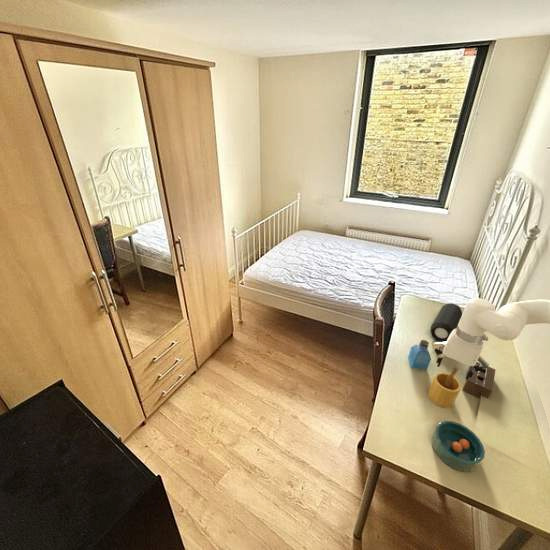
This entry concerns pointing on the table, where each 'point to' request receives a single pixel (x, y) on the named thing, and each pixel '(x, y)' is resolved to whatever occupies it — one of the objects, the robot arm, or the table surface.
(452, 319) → the portable speaker
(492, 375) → the holder
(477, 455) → the bowl
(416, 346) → the perfume bottle
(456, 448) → the dough ball
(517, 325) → the robot arm
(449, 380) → the stirring stick
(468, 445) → the dough ball
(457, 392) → the utensil pot
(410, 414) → the table surface
